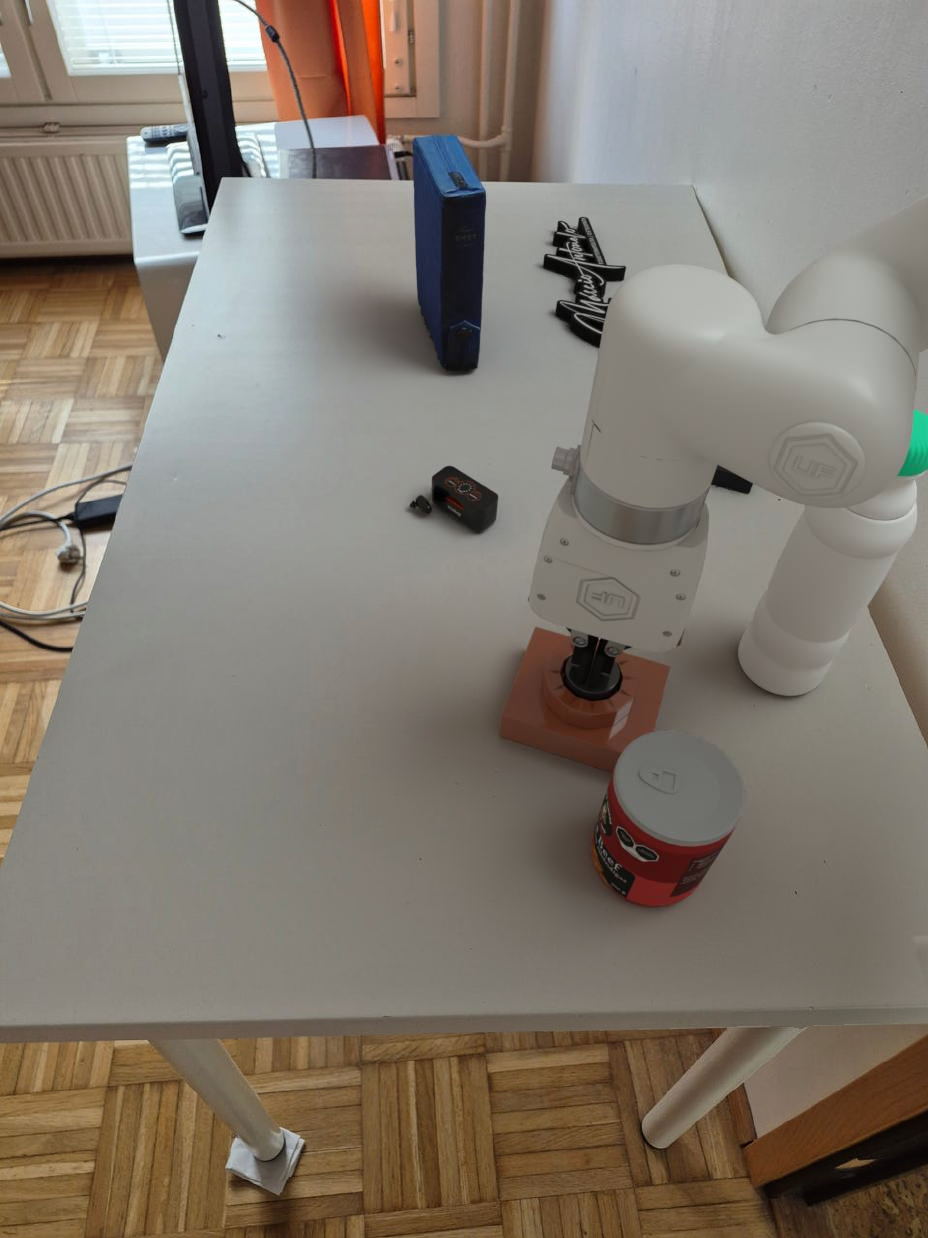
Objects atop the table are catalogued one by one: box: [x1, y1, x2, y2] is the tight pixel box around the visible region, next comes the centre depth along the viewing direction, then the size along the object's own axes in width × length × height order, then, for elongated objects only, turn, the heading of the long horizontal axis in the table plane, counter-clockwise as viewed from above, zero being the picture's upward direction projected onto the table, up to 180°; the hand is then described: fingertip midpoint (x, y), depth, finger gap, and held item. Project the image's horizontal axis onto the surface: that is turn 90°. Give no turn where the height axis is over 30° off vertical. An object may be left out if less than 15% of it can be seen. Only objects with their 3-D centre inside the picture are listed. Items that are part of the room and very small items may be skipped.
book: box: [411, 133, 487, 372], centre depth 92 cm, size 14×5×20 cm, turn 14°
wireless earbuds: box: [409, 465, 499, 533], centre depth 81 cm, size 5×7×3 cm, turn 49°
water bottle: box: [737, 408, 928, 697], centre depth 63 cm, size 7×7×25 cm
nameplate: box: [542, 216, 627, 349], centre depth 108 cm, size 27×2×10 cm
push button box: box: [498, 626, 671, 773], centre depth 68 cm, size 11×9×5 cm
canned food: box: [590, 729, 746, 908], centre depth 58 cm, size 8×8×11 cm
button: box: [563, 650, 620, 701], centre depth 66 cm, size 4×4×2 cm
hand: (590, 669), depth 65 cm, fingers closed
